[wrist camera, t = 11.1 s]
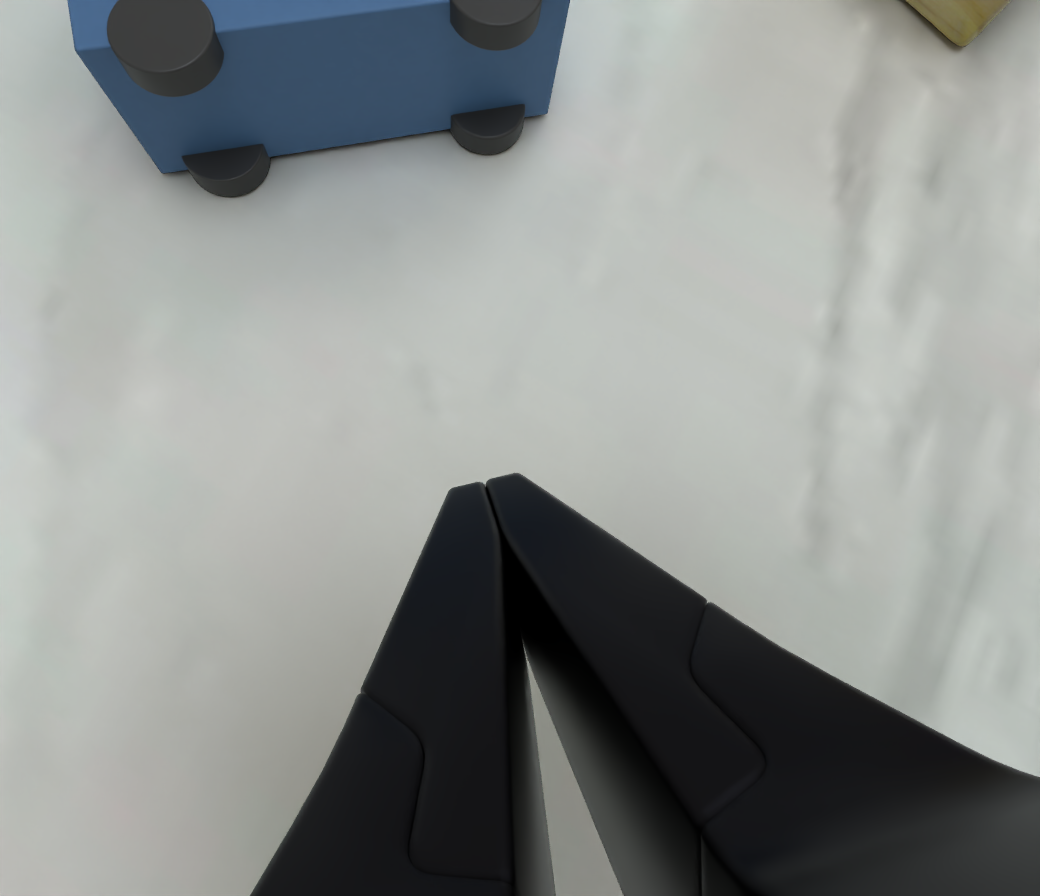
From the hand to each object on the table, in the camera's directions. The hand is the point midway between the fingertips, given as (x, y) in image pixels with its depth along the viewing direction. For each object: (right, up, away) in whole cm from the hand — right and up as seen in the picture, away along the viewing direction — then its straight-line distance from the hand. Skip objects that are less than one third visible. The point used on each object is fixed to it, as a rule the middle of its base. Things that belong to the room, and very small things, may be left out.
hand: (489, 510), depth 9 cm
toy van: (-4, +10, +11) cm, 15 cm away
